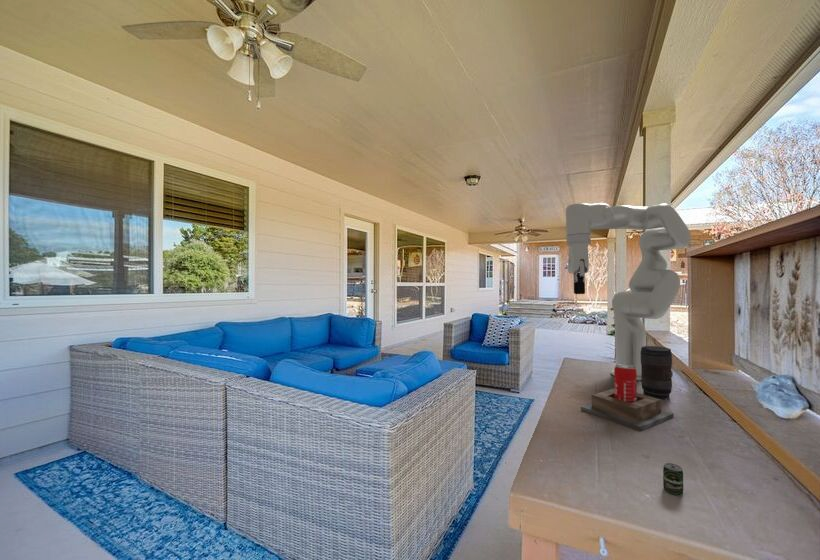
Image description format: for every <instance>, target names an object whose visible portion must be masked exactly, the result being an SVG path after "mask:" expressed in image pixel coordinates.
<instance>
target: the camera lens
mask: <svg viewBox="0 0 820 560" xmlns="http://www.w3.org/2000/svg"><path fill="white" fill-rule="evenodd" d="M640 353H641V380H640V383H641V389H642V391H643V395H646V396H650V397H654V398H657V399H661V400H668V399H670V394H671V393H672V388H673V382H672V381H673V379H672V378H673V377H674V376H673V375H674V374H673V371H672V367H673V354H672V350H671V348H668V347H664V346H656V345H646V346H644V347H641V352H640Z"/></svg>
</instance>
